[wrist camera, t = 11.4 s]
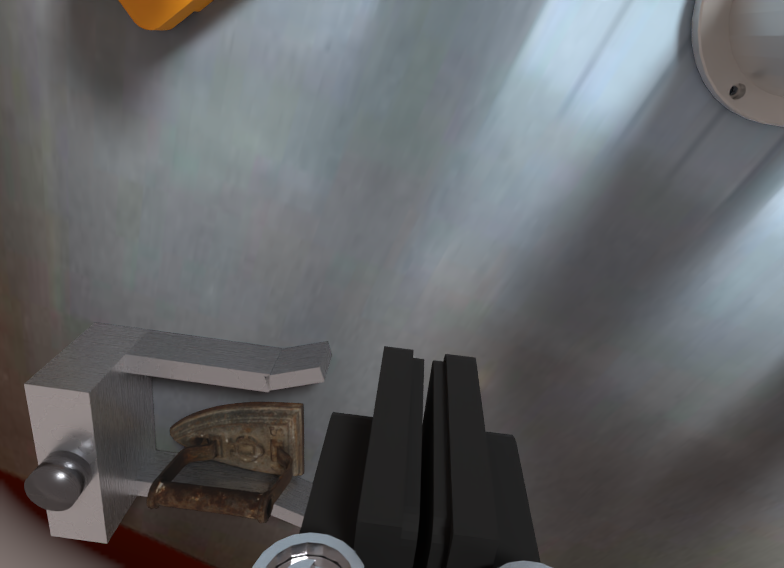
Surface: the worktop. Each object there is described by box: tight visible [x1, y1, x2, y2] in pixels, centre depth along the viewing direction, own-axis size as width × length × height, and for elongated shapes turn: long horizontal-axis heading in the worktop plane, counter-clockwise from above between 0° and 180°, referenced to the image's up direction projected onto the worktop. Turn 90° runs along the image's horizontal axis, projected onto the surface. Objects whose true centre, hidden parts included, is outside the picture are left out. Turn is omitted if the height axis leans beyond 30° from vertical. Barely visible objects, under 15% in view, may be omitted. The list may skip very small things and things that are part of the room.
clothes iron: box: [147, 402, 304, 523], centre depth 42 cm, size 7×11×10 cm, turn 87°
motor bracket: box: [24, 322, 332, 543], centre depth 39 cm, size 18×15×10 cm
